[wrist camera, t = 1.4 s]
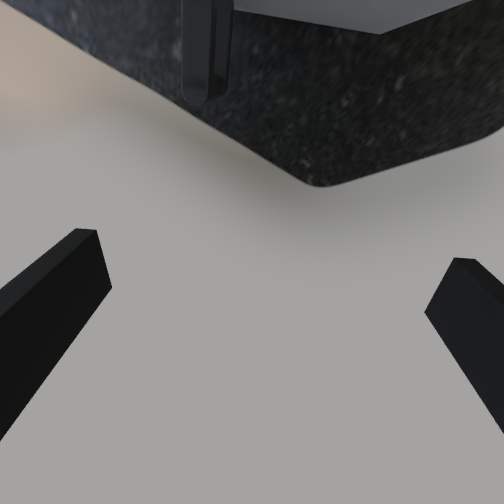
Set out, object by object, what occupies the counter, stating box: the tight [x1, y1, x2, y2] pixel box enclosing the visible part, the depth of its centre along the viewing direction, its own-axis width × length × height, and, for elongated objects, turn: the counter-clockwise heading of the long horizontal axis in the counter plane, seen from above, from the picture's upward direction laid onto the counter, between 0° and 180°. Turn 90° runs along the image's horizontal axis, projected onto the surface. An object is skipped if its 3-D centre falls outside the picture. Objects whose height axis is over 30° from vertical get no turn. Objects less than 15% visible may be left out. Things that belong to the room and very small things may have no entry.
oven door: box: [181, 0, 471, 106], centre depth 19 cm, size 7×15×14 cm, turn 82°
